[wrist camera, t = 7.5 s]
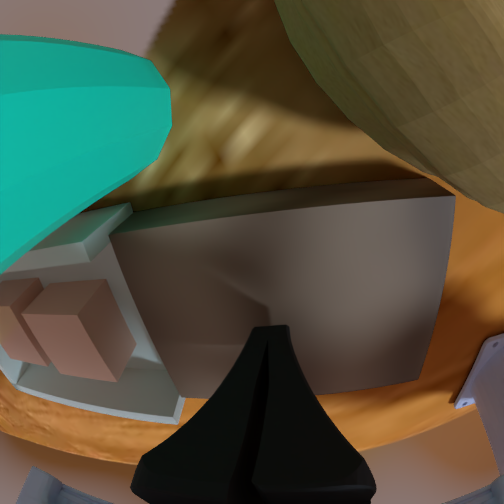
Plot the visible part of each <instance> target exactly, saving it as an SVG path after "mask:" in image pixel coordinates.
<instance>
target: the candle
mask: <svg viewBox="0 0 504 504" xmlns="http://www.w3.org/2000/svg"><path fill="white" fill-rule="evenodd" d="M171 127H172V116H171V98H170V88H169V86H168V85H167V83H166V82H165V80H164V79H163V78H162V76H161V75H160V73H159V72H158V70H157V69H156V67H155V66H154V64H153V63H152V61H151V60H148V59H145V58H142V57H139V56H137V55H134V54H131V53H128V52H125V51H122V50H118V49H114V48H109V47H103V46H99V45H94V44H88V43H82V42H76V41H70V40H63V39H55V38H46V37H36V36H23V35H3V34H0V275H1V274H2V273H3V272H4V271H5V270H6V269H8V268H9V267H10V266H11V265H12V264H13V263H15V262H16V261H17V260H18V259H19V258H21V257H22V256H23V255H24V254H25V253H27V252H28V251H29V250H30V249H32V248H33V247H34V246H35V245H37V244H38V243H39V242H40V241H42V240H43V239H44V238H46V237H47V236H48V235H50V234H51V233H52V232H54V231H55V230H56V229H58V228H59V227H60V226H62V225H63V224H64V223H66V222H67V221H68V220H70V219H71V218H73V217H74V216H76V215H77V214H78V213H80V212H81V211H83V210H84V209H86V208H87V207H89V206H90V205H91V204H93V203H94V202H96V201H97V200H99V199H100V198H102V197H103V196H105V195H107V194H108V193H110V192H111V191H113V190H114V189H116V188H117V187H119V186H121V185H122V184H124V183H125V182H127V181H129V180H130V179H132V178H133V177H134V176H136V175H137V174H138V173H140V172H141V171H142V170H143V169H145V168H146V167H147V166H149V165H150V164H151V163H153V162H154V161H155V160H157V158H158V156H159V154H160V151H161V149H162V147H163V145H164V142H165V140H166V138H167V136H168V134H169V131H170V129H171Z"/></svg>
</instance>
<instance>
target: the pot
mask: <svg viewBox="0 0 504 504" xmlns="http://www.w3.org/2000/svg"><path fill="white" fill-rule="evenodd" d="M274 2H275V4H276V7H277V9H278V12H279V14H280V17H281V19H282V22H283V24H284V27H285V30H286V32H287V35H288V38H289V40H290V43H291V44H292V46H293V47H294V49H295V50H296V52H297V53H298V55H299V56H300V58H301V59H302V61H303V62H304V64H305V65H306V67H307V69H308V70H309V72H310V74H311V75H312V77H313V78H314V80H315V82H316V83H317V84H318V85H319V86H320V87H321V88H322V89H323V90H324V92H325V93H326V94H327V95H328V96H329V97H330V98H331V99H332V101H333V102H334V103H335V104H336V105H337V106H338V107H339V109H340V110H341V111H342V112H343V113H344V114H345V116H346V117H347V118H348V119H349V120H350V121H352V122H353V123H354V124H355V125H356V126H358V127H359V128H360V129H361V130H363V131H364V132H365V133H366V134H367V135H368V136H370V137H371V138H372V139H373V140H374V141H375V142H377V143H378V144H379V145H380V146H381V147H382V148H383V149H385V150H387V151H388V152H390V153H392V154H394V155H396V156H397V157H399V158H401V159H402V160H404V161H406V162H407V163H409V164H411V165H412V166H414V167H416V168H417V169H419V170H421V171H422V172H425V173H428V174H431V175H434V176H437V177H439V178H440V179H442V180H443V181H445V182H446V183H448V184H449V185H451V186H452V187H453V188H455V189H456V190H458V191H459V192H461V193H462V194H463V195H465V196H466V197H467V198H469V199H472V200H475V201H478V202H479V203H480V204H481V205H483V206H485V207H488V208H490V209H493V210H496V211H498V212H501V213H504V0H274Z"/></svg>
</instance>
